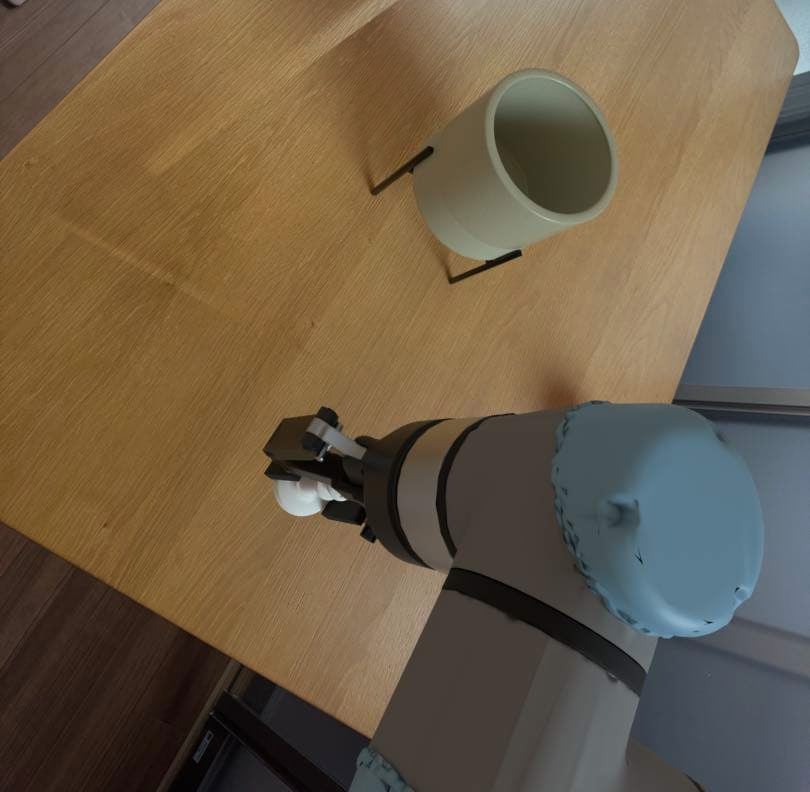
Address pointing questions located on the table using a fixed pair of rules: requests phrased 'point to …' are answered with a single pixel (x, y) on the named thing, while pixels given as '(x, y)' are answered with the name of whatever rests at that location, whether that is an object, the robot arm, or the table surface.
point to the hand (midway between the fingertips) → (306, 481)
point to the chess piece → (304, 496)
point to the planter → (514, 168)
